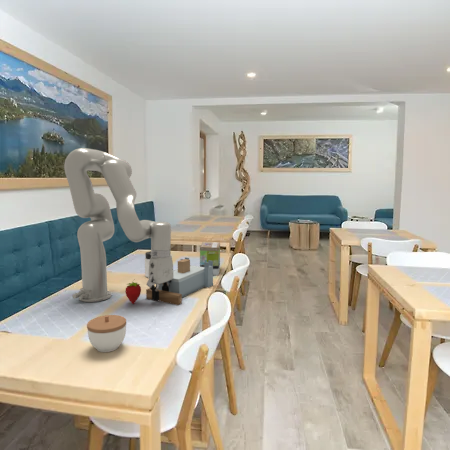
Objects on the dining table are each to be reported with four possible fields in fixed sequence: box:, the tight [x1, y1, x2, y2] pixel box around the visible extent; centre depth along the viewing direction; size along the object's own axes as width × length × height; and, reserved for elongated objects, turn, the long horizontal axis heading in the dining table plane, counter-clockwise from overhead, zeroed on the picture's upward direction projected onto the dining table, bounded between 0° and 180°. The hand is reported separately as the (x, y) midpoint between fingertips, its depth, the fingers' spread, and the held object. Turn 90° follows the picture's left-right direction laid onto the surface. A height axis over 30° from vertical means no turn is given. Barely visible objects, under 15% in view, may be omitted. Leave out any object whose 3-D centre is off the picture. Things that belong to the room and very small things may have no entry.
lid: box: [171, 258, 204, 282], centre depth 156 cm, size 22×10×6 cm, turn 151°
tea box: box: [199, 241, 221, 276], centre depth 187 cm, size 15×10×15 cm
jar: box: [144, 250, 151, 279], centre depth 179 cm, size 9×8×12 cm
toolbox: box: [158, 257, 214, 298], centre depth 157 cm, size 23×15×11 cm, turn 151°
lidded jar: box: [86, 314, 127, 353], centre depth 103 cm, size 11×11×9 cm
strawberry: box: [125, 278, 142, 305], centre depth 139 cm, size 6×8×10 cm
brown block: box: [145, 287, 183, 306], centre depth 143 cm, size 2×16×4 cm, turn 62°
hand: (160, 297), depth 142 cm, fingers open, 5 cm apart
